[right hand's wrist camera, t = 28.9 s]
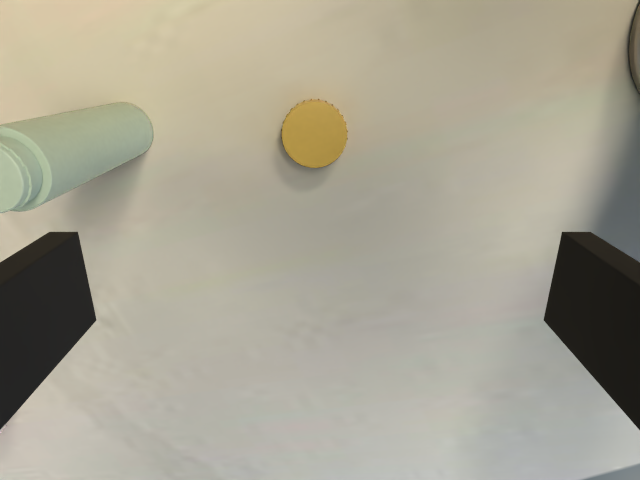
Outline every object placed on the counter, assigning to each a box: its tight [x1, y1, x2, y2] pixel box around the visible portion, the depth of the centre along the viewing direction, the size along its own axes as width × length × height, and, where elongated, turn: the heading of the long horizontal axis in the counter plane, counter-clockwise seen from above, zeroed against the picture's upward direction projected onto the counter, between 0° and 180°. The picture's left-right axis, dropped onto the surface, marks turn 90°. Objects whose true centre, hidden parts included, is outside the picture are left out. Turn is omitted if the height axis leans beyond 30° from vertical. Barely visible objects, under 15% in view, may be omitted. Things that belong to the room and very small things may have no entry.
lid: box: [281, 99, 348, 168], centre depth 38 cm, size 6×6×2 cm
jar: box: [0, 102, 153, 213], centre depth 30 cm, size 5×5×17 cm
